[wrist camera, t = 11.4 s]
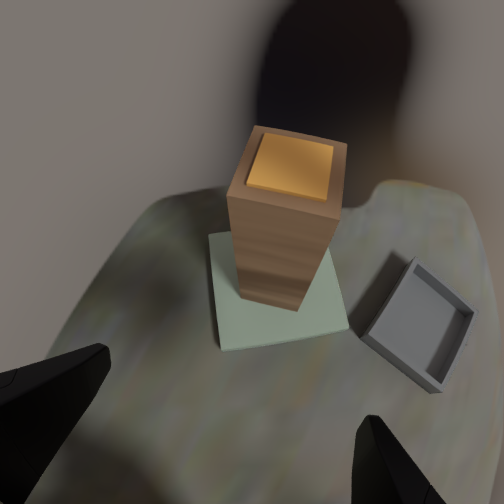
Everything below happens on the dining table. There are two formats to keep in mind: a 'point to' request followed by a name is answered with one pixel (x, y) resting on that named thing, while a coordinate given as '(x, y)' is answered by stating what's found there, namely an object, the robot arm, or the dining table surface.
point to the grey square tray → (422, 327)
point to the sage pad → (268, 317)
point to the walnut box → (284, 213)
